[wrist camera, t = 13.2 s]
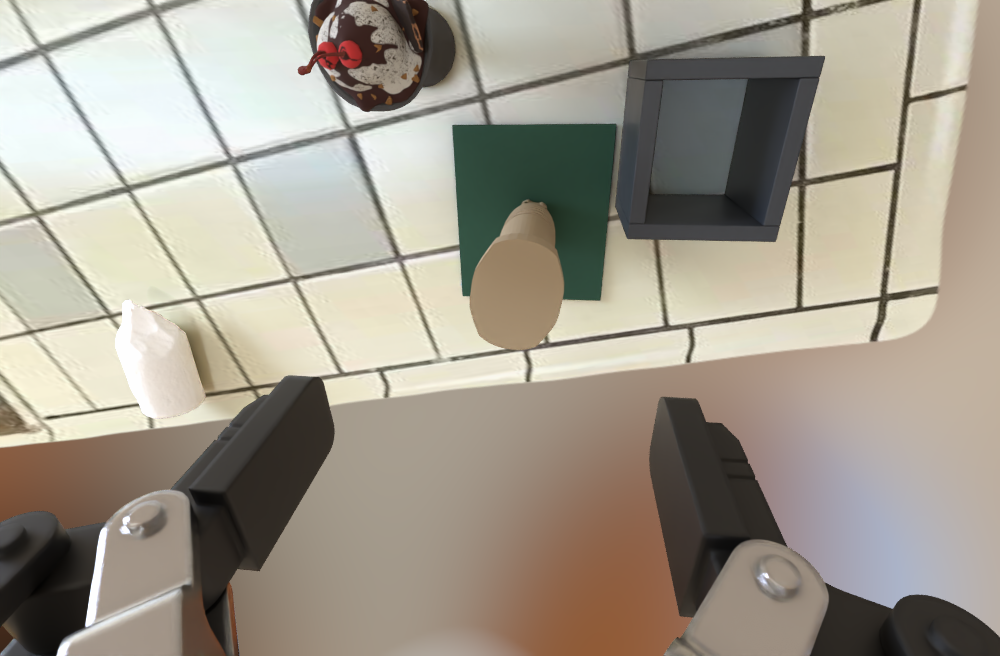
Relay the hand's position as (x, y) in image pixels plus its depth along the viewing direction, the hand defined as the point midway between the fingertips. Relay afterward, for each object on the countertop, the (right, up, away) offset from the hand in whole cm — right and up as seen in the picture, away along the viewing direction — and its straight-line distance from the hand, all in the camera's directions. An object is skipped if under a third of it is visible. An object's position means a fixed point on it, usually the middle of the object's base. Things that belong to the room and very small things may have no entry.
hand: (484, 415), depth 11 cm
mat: (+3, +11, +27) cm, 29 cm away
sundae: (-5, +22, +22) cm, 32 cm away
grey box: (+14, +16, +23) cm, 31 cm away
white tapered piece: (-33, +1, +38) cm, 50 cm away
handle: (+3, +11, +27) cm, 29 cm away
